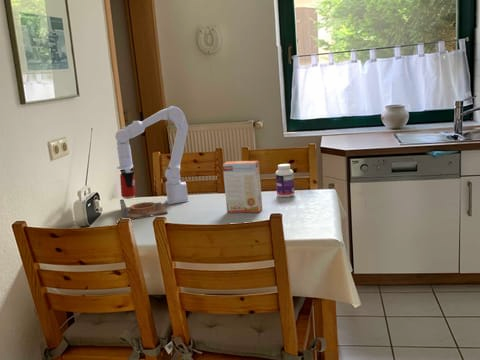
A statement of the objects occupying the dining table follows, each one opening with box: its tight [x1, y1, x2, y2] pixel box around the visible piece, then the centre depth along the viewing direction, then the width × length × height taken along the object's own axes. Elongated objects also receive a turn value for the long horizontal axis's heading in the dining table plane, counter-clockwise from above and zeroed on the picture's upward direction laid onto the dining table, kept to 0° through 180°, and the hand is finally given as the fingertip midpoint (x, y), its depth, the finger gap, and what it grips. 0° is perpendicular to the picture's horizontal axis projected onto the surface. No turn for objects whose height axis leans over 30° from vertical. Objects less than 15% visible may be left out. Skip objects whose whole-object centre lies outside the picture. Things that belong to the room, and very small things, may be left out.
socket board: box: [119, 198, 169, 220], centre depth 222 cm, size 18×18×5 cm
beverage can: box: [119, 170, 136, 200], centre depth 229 cm, size 6×6×12 cm
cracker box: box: [222, 160, 263, 214], centre depth 209 cm, size 14×6×21 cm, turn 71°
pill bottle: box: [275, 163, 295, 198], centre depth 228 cm, size 8×8×14 cm
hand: (129, 185), depth 230 cm, fingers closed on beverage can, 6 cm apart
